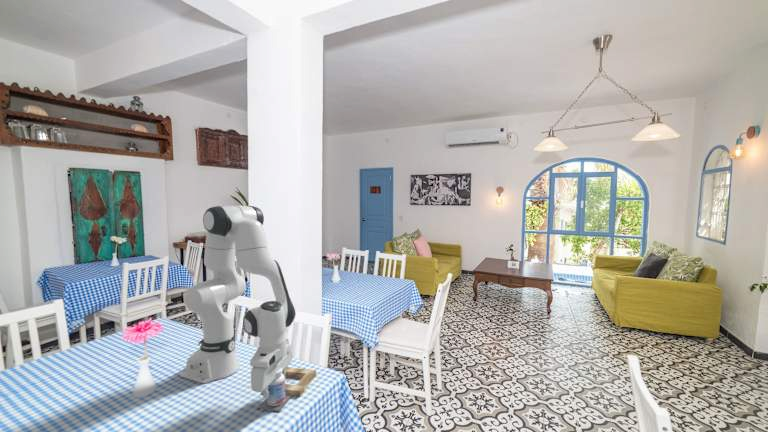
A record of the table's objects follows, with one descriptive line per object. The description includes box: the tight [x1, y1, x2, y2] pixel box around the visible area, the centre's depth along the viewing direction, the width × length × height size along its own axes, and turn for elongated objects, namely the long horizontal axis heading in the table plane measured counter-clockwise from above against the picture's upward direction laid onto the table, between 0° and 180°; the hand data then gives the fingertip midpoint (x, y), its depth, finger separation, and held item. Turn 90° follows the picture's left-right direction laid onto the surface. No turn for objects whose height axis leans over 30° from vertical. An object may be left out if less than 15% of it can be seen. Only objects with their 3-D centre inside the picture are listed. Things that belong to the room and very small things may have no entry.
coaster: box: [257, 395, 292, 413], centre depth 108 cm, size 8×8×1 cm
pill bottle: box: [267, 368, 286, 406], centre depth 108 cm, size 6×6×11 cm
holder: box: [285, 366, 317, 397], centre depth 120 cm, size 14×14×2 cm
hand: (274, 388), depth 108 cm, fingers open, 8 cm apart
